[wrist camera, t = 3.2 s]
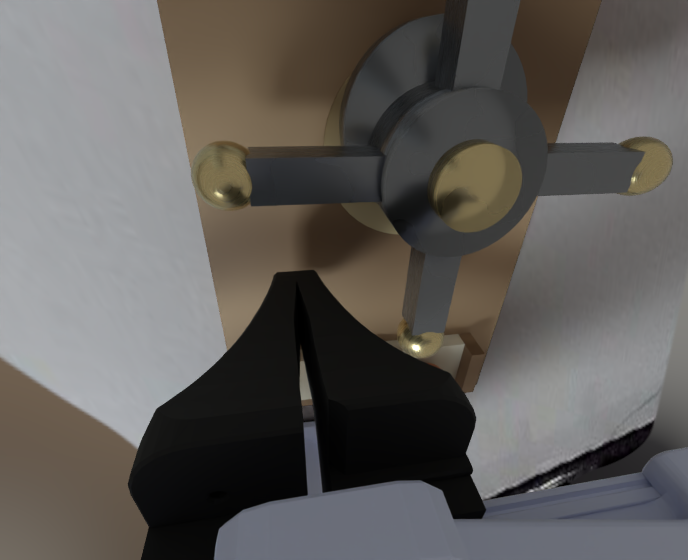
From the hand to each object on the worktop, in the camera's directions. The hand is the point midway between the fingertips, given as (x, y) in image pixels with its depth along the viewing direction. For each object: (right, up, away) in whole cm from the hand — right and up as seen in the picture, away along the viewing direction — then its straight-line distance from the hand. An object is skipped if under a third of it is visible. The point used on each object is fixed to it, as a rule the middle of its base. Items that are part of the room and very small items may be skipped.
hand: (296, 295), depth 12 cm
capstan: (+4, +5, -1) cm, 6 cm away
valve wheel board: (+3, +2, +3) cm, 4 cm away
